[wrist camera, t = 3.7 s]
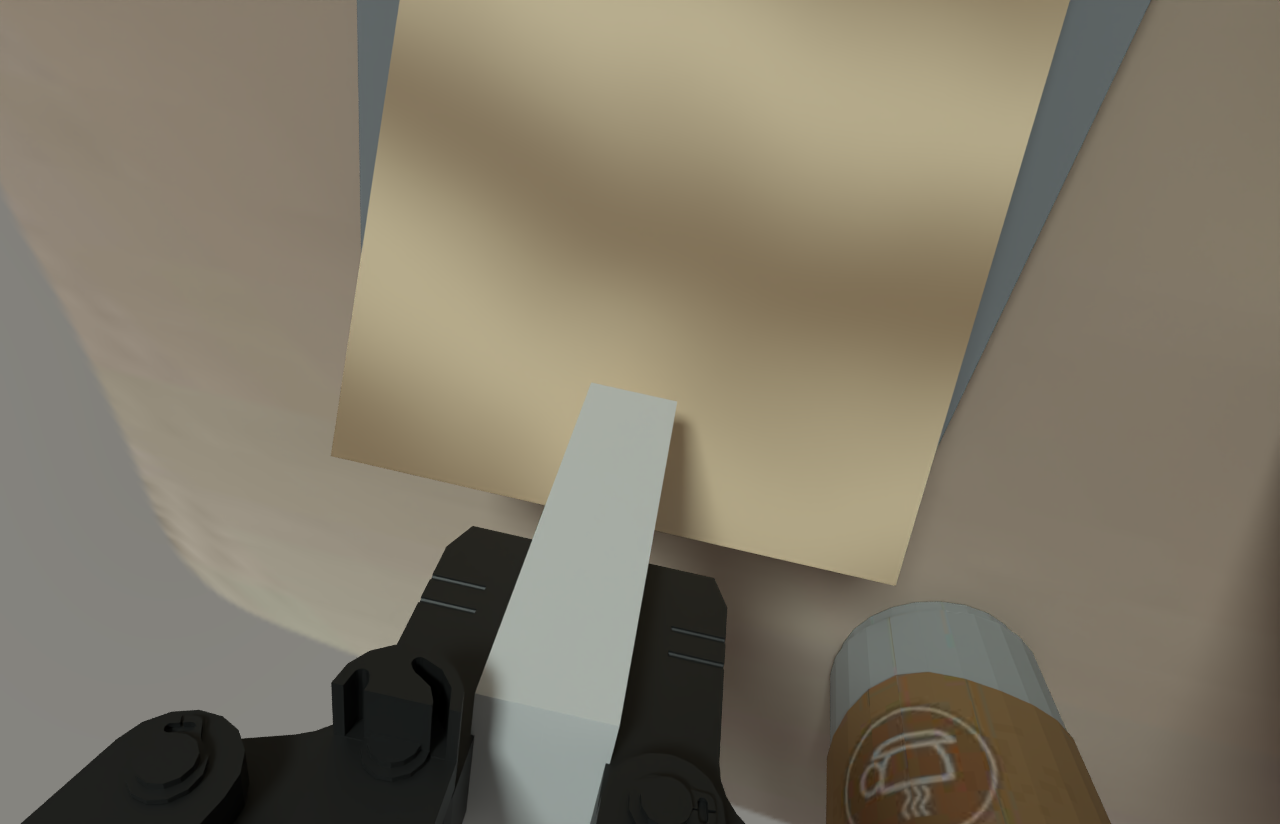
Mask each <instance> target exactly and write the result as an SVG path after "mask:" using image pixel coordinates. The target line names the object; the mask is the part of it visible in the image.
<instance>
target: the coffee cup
mask: <svg viewBox="0 0 1280 824" xmlns="http://www.w3.org/2000/svg"><path fill="white" fill-rule="evenodd" d="M826 824H1111V823H1110V820H1109V818H1108V816H1107V814H1106V811H1105V809H1104V807H1103V805H1102V802H1101V800H1100V798H1099V796H1098V793H1097V791H1096V789H1095V787H1094V784H1093V782H1092V780H1091V778H1090V775H1089V773H1088V771H1087V769H1086V766H1085V764H1084V762H1083V760H1082V757H1081V755H1080V753H1079V751H1078V748H1077V746H1076V744H1075V742H1074V739H1073V738H1072V737H1071V736H1070V734H1069V733H1068V732H1067V730H1066V728H1065V726H1064V723H1063V721H1062V719H1061V717H1060V714H1059V712H1058V710H1057V707H1056V705H1055V703H1054V701H1053V698H1052V696H1051V694H1050V691H1049V689H1048V687H1047V685H1046V682H1045V680H1044V678H1043V675H1042V673H1041V671H1040V669H1039V666H1038V664H1037V662H1036V659H1035V657H1034V655H1033V653H1032V651H1031V650H1030V649H1029V648H1028V646H1027V645H1026V644H1025V643H1024V642H1023V640H1022V639H1021V638H1020V637H1019V636H1018V635H1016V634H1015V633H1013V632H1012V631H1010V630H1009V629H1008V628H1007V626H1006V625H1005V624H1003V623H1002V622H1000V621H999V620H997V619H995V618H994V617H992V616H991V615H989V614H988V613H985V612H983V611H980V610H977V609H974V608H971V607H969V606H966V605H960V604H953V603H947V602H916V603H911V604H906V605H902V606H897V607H893V608H890V609H887V610H885V611H883V612H881V613H878V614H876V615H874V616H871V617H870V618H868V619H867V620H866V621H864V622H863V623H862V624H860V625H859V626H858V627H856V628H855V629H854V630H853V631H852V633H851V634H850V635H849V637H848V638H847V639H846V641H845V642H844V643H843V646H842V649H841V650H840V651H839V653H838V654H837V655H836V657H835V660H834V664H833V667H832V670H831V676H830V749H829V752H828V756H827V803H826Z"/></svg>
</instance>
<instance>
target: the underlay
mask: <svg viewBox="0 0 1280 824" xmlns="http://www.w3.org/2000/svg"><path fill="white" fill-rule="evenodd" d="M399 1H400V0H357V32H358V91H359V150H360V210H361V253H362V247H363V240H364V233H365V227H366V220H367V214H368V207H369V200H370V194H371V187H372V180H373V174H374V167H375V161H376V154H377V147H378V141H379V134H380V127H381V121H382V114H383V107H384V101H385V94H386V88H387V81H388V74H389V68H390V61H391V54H392V48H393V41H394V35H395V28H396V21H397V15H398V8H399ZM1150 1H1151V0H1070V2H1069V5H1068V9H1067V12H1066V15H1065V19H1064V22H1063V26H1062V29H1061V32H1060V36H1059V39H1058V42H1057V46H1056V49H1055V52H1054V56H1053V59H1052V62H1051V66H1050V69H1049V73H1048V76H1047V79H1046V83H1045V86H1044V89H1043V93H1042V96H1041V99H1040V103H1039V106H1038V109H1037V113H1036V116H1035V120H1034V123H1033V126H1032V130H1031V133H1030V136H1029V140H1028V143H1027V146H1026V150H1025V153H1024V156H1023V160H1022V163H1021V167H1020V170H1019V173H1018V177H1017V180H1016V183H1015V187H1014V190H1013V193H1012V197H1011V200H1010V203H1009V207H1008V210H1007V214H1006V217H1005V220H1004V224H1003V227H1002V230H1001V234H1000V237H999V240H998V244H997V247H996V250H995V254H994V257H993V261H992V264H991V267H990V271H989V274H988V277H987V281H986V284H985V287H984V291H983V294H982V298H981V301H980V304H979V308H978V311H977V314H976V318H975V321H974V324H973V328H972V331H971V334H970V338H969V341H968V345H967V348H966V351H965V355H964V358H963V361H962V365H961V368H960V371H959V375H958V378H957V381H956V385H955V388H954V392H953V395H952V398H951V402H950V405H949V408H948V412H947V415H946V418H945V422H944V425H943V428H942V432H941V435H940V439H939V442H938V445H939V443H940V441H941V439H942V437H943V435H944V433H945V430H946V428H947V426H948V424H949V422H950V420H951V418H952V416H953V414H954V412H955V409H956V407H957V405H958V403H959V401H960V399H961V397H962V395H963V393H964V391H965V389H966V386H967V384H968V382H969V380H970V378H971V376H972V374H973V372H974V370H975V368H976V366H977V363H978V361H979V359H980V357H981V355H982V353H983V351H984V349H985V347H986V345H987V342H988V340H989V338H990V336H991V334H992V332H993V330H994V328H995V326H996V324H997V322H998V319H999V317H1000V315H1001V313H1002V311H1003V309H1004V307H1005V305H1006V303H1007V301H1008V299H1009V296H1010V294H1011V292H1012V290H1013V288H1014V286H1015V284H1016V282H1017V280H1018V278H1019V276H1020V273H1021V271H1022V269H1023V267H1024V265H1025V263H1026V261H1027V259H1028V257H1029V255H1030V252H1031V250H1032V248H1033V246H1034V244H1035V242H1036V240H1037V238H1038V236H1039V234H1040V232H1041V229H1042V227H1043V225H1044V223H1045V221H1046V219H1047V217H1048V215H1049V213H1050V211H1051V209H1052V206H1053V204H1054V202H1055V200H1056V198H1057V196H1058V194H1059V192H1060V190H1061V188H1062V185H1063V183H1064V181H1065V179H1066V177H1067V175H1068V173H1069V171H1070V169H1071V167H1072V165H1073V162H1074V160H1075V158H1076V156H1077V154H1078V152H1079V150H1080V148H1081V146H1082V144H1083V142H1084V139H1085V137H1086V135H1087V133H1088V131H1089V129H1090V127H1091V125H1092V123H1093V121H1094V119H1095V116H1096V114H1097V112H1098V110H1099V108H1100V106H1101V104H1102V102H1103V100H1104V98H1105V95H1106V93H1107V91H1108V89H1109V87H1110V85H1111V83H1112V81H1113V79H1114V77H1115V75H1116V72H1117V70H1118V68H1119V66H1120V64H1121V62H1122V60H1123V58H1124V56H1125V54H1126V52H1127V49H1128V47H1129V45H1130V43H1131V41H1132V39H1133V37H1134V35H1135V33H1136V31H1137V28H1138V26H1139V24H1140V22H1141V20H1142V18H1143V16H1144V14H1145V12H1146V10H1147V8H1148V5H1149V3H1150ZM938 445H937V447H938Z"/></svg>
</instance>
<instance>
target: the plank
mask: <svg viewBox="0 0 1280 824" xmlns="http://www.w3.org/2000/svg"><path fill="white" fill-rule="evenodd" d="M1069 2H1070V0H400V1H399V8H398V15H397V21H396V28H395V35H394V41H393V48H392V54H391V61H390V68H389V74H388V81H387V88H386V94H385V101H384V107H383V114H382V121H381V127H380V134H379V141H378V147H377V154H376V161H375V167H374V174H373V180H372V187H371V194H370V200H369V207H368V214H367V220H366V227H365V233H364V240H363V247H362V253H361V260H360V267H359V273H358V280H357V287H356V293H355V300H354V306H353V313H352V320H351V326H350V333H349V340H348V346H347V353H346V359H345V366H344V373H343V379H342V386H341V393H340V399H339V406H338V413H337V419H336V426H335V432H334V439H333V446H332V452H331V456H333V457H338V458H342V459H346V460H351V461H355V462H359V463H364V464H368V465H372V466H377V467H381V468H386V469H390V470H394V471H399V472H403V473H407V474H412V475H416V476H420V477H425V478H429V479H433V480H438V481H442V482H446V483H451V484H455V485H459V486H464V487H468V488H472V489H477V490H481V491H485V492H490V493H494V494H498V495H503V496H507V497H511V498H516V499H520V500H525V501H529V502H533V503H538V504H542V505H546V502H547V499H548V497H549V494H550V491H551V489H552V486H553V483H554V481H555V478H556V475H557V473H558V470H559V467H560V465H561V462H562V459H563V457H564V454H565V451H566V449H567V446H568V443H569V441H570V438H571V435H572V433H573V430H574V427H575V425H576V422H577V419H578V417H579V414H580V411H581V409H582V406H583V403H584V401H585V398H586V395H587V392H588V390H589V387H590V384H591V382H592V383H596V384H601V385H605V386H610V387H614V388H618V389H623V390H627V391H632V392H637V393H641V394H646V395H650V396H655V397H659V398H664V399H668V400H673V401H677V406H676V412H675V417H674V423H673V428H672V434H671V440H670V445H669V451H668V457H667V462H666V468H665V473H664V479H663V485H662V490H661V496H660V501H659V507H658V513H657V518H656V524H655V531H659V532H664V533H668V534H672V535H677V536H681V537H685V538H690V539H694V540H698V541H703V542H707V543H711V544H716V545H720V546H724V547H729V548H733V549H737V550H742V551H746V552H750V553H755V554H759V555H763V556H768V557H772V558H776V559H781V560H785V561H790V562H794V563H798V564H803V565H807V566H811V567H816V568H820V569H824V570H829V571H833V572H837V573H842V574H846V575H850V576H855V577H859V578H863V579H868V580H872V581H876V582H881V583H885V584H889V585H894V586H896V583H897V580H898V576H899V573H900V570H901V566H902V563H903V559H904V556H905V553H906V549H907V546H908V543H909V539H910V536H911V533H912V529H913V526H914V522H915V519H916V516H917V512H918V509H919V506H920V502H921V499H922V496H923V492H924V489H925V486H926V482H927V479H928V475H929V472H930V469H931V465H932V462H933V459H934V455H935V452H936V449H937V445H938V442H939V439H940V435H941V432H942V428H943V425H944V422H945V418H946V415H947V412H948V408H949V405H950V402H951V398H952V395H953V392H954V388H955V385H956V381H957V378H958V375H959V371H960V368H961V365H962V361H963V358H964V355H965V351H966V348H967V345H968V341H969V338H970V334H971V331H972V328H973V324H974V321H975V318H976V314H977V311H978V308H979V304H980V301H981V298H982V294H983V291H984V287H985V284H986V281H987V277H988V274H989V271H990V267H991V264H992V261H993V257H994V254H995V250H996V247H997V244H998V240H999V237H1000V234H1001V230H1002V227H1003V224H1004V220H1005V217H1006V214H1007V210H1008V207H1009V203H1010V200H1011V197H1012V193H1013V190H1014V187H1015V183H1016V180H1017V177H1018V173H1019V170H1020V167H1021V163H1022V160H1023V156H1024V153H1025V150H1026V146H1027V143H1028V140H1029V136H1030V133H1031V130H1032V126H1033V123H1034V120H1035V116H1036V113H1037V109H1038V106H1039V103H1040V99H1041V96H1042V93H1043V89H1044V86H1045V83H1046V79H1047V76H1048V73H1049V69H1050V66H1051V62H1052V59H1053V56H1054V52H1055V49H1056V46H1057V42H1058V39H1059V36H1060V32H1061V29H1062V26H1063V22H1064V19H1065V15H1066V12H1067V9H1068V5H1069Z"/></svg>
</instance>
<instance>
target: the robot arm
mask: <svg viewBox="0 0 1280 824" xmlns="http://www.w3.org/2000/svg"><path fill="white" fill-rule="evenodd" d="M676 406H677V401H673V400H668V399H664V398H659V397H655V396H650V395H646V394H641V393H637V392H632V391H627V390H623V389H618V388H614V387H610V386H605V385H601V384H596V383H592V382H591V384H590V387H589V390H588V392H587V395H586V398H585V401H584V403H583V406H582V409H581V411H580V414H579V417H578V419H577V422H576V425H575V427H574V430H573V433H572V435H571V438H570V441H569V443H568V446H567V449H566V451H565V454H564V457H563V459H562V462H561V465H560V467H559V470H558V473H557V475H556V478H555V481H554V483H553V486H552V489H551V491H550V494H549V497H548V499H547V502H546V505H545V507H544V510H543V513H542V515H541V518H540V521H539V523H538V526H537V529H536V531H535V534H534V537H533V539H528V538H523V537H519V536H515V535H510V534H506V533H501V532H497V531H492V530H488V529H484V528H479V527H475V526H472V527H471V528H470V529H468V530H467V531H466V532H465V533H463V534H462V535H461V536H460V537H458V538H457V539H456V540H454V541H453V542H452V543H451V544H449V545H448V546H447V547H446V549H445V551H444V553H443V555H442V557H441V559H440V561H439V563H438V565H437V567H436V569H435V571H434V573H433V576H432V579H430V580H429V582H428V584H427V586H426V588H425V590H424V592H423V594H422V596H421V600H420V603H419V602H418V604H417V606H416V608H415V610H414V612H413V614H412V616H411V618H410V620H409V622H408V624H407V626H406V628H405V630H404V632H403V634H402V636H401V637H400V639H399V641H398V643H397V645H392V646H388V647H384V648H380V649H375V650H371V651H369V652H367V653H365V654H363V655H362V656H360V657H358V658H357V659H355V660H353V661H351V662H350V663H348V664H347V665H346V666H345V667H344V669H343V670H342V671H341V672H340V673H339V674H338V676H337V677H336V678H335V679H334V680H333V681H332V683H331V684H332V710H333V725H330V726H328V727H325V728H323V729H320V730H317V731H313V732H307V733H301V734H296V735H284V736H272V737H258V738H245V739H241V736H240V733H239V730H238V729H237V728H235V727H234V726H233V725H232V724H231V723H230V722H228V721H227V720H226V719H225V718H224V717H223V716H219V715H216V714H212V713H208V712H205V711H201V710H192V711H176V712H170V713H167V714H164V715H161V716H158V717H155V718H152V719H150V720H147V721H144V722H142V723H140V724H139V725H137V726H136V727H134V728H133V729H131V730H130V731H128V732H127V733H125V734H124V735H122V736H121V737H119V738H118V739H116V740H115V741H114V742H113V743H112V744H111V745H110V746H108V747H107V748H106V749H105V750H104V751H103V752H102V753H100V754H99V755H98V756H97V757H96V758H95V759H94V760H93V761H91V762H90V763H89V764H88V765H87V766H86V767H85V768H83V769H82V770H81V771H80V772H79V773H78V774H77V775H76V776H74V777H73V778H72V779H71V780H70V781H69V782H68V783H67V784H65V785H64V786H63V787H62V788H61V789H60V790H58V791H57V792H56V793H55V794H54V795H53V796H52V797H51V798H49V799H48V800H47V801H46V802H45V803H44V804H43V805H42V806H40V807H39V808H38V809H37V810H36V811H35V812H33V813H32V814H31V815H30V816H29V817H28V818H27V819H25V820H24V821H23V822H22V823H21V824H745V823H744V822H743V821H742V820H741V818H740V817H739V816H738V815H737V814H736V812H735V811H734V809H733V807H732V806H731V804H730V802H729V801H728V799H727V797H726V794H725V791H724V788H723V785H722V783H721V779H720V767H719V757H720V737H721V718H722V698H723V678H724V669H723V666H724V659H725V644H724V643H725V638H726V619H727V606H726V604H725V602H724V600H723V597H722V595H721V593H720V591H719V588H718V586H717V584H716V581H715V579H714V578H710V577H706V576H701V575H697V574H693V573H688V572H684V571H679V570H675V569H671V568H666V567H662V566H657V565H653V564H648V563H649V558H650V552H651V546H652V541H653V535H654V530H655V524H656V518H657V513H658V507H659V501H660V496H661V490H662V485H663V479H664V473H665V468H666V462H667V457H668V451H669V445H670V440H671V434H672V428H673V423H674V417H675V412H676Z"/></svg>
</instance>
